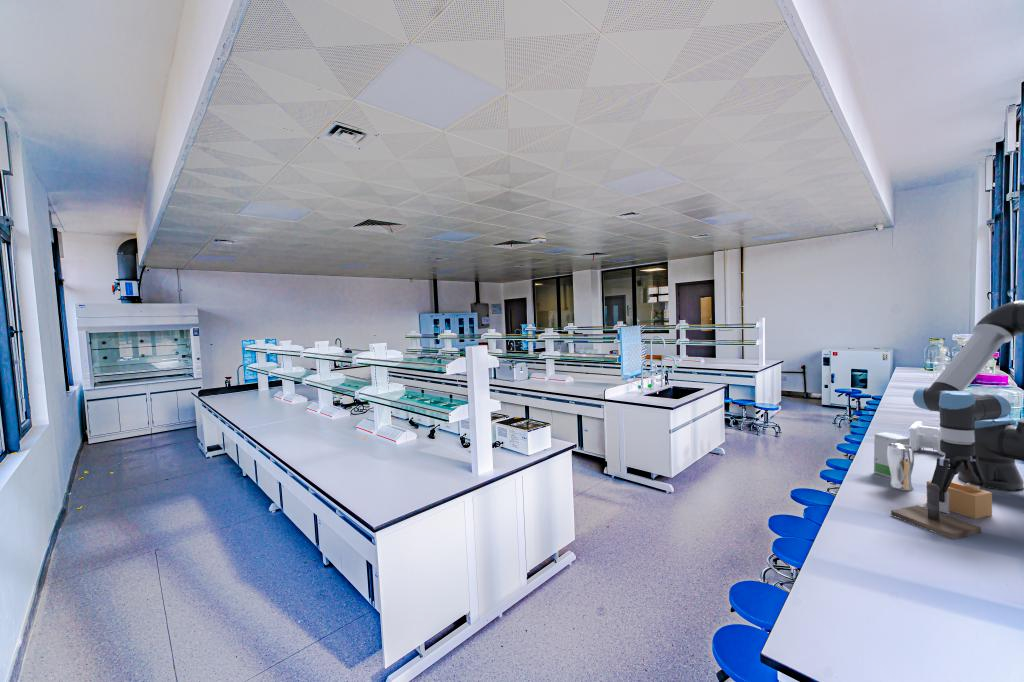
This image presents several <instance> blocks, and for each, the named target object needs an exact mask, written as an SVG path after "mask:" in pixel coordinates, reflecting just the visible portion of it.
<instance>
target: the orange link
mask: <svg viewBox="0 0 1024 682" xmlns="http://www.w3.org/2000/svg"><path fill="white" fill-rule="evenodd" d="M931 481H932V480H927V481H926V486H927V485H928V484H931ZM946 492H949V511H950V510H951V511H950V512H954V513H956V514H960V515H963V516H966V517H968V518H970V519H971V518H972V519H974V520H978V519H981V518H987V517H990V515H991V516H993V493H992V492H991V491H988V490H984V489H982V488H981V489H980V488H979V489H978V488H974V487H970V486H967V485H966V484H963V483H959V482H956V481H953V480H952V482H951V483H950V485H949V487H948V489H947V491H946ZM927 502H928V495H927V494H926V503H927ZM986 516H987V517H986Z"/></svg>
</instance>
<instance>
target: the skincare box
mask: <svg viewBox="0 0 1024 682" xmlns="http://www.w3.org/2000/svg"><path fill="white" fill-rule="evenodd" d="M873 442H874V445H873V446H874V452H873V453H874V454H873V455H874V456H873V473H875V474H878V475H882V476H884V477H887V478H890V479H891V473H890V469H889V465H888V460H887V448H888V444H891V443H897V444H905V445H909V446H910V437H908V436H904V435H900V434H897V433H896V434H895V433H891V432H888V431H884V432H879V433H878V432H877V433H874V441H873Z"/></svg>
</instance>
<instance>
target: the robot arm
mask: <svg viewBox="0 0 1024 682" xmlns="http://www.w3.org/2000/svg"><path fill="white" fill-rule="evenodd" d="M972 332H973V334H972V335H971V336H970V337H969V339H968V340H967V341H966V342H965V344H964V345H963V346H962V347H961V348H960V350H959V351H958V353H957V354H955V356H954V357H953V358H952V360H951V361H950V362H949V363H948V364H947V366H946V367H945V368H944V369H943V371H942V372H941V373H940V374H939V375H938V377H937V378H936V379H935V380H934V382H933V383H932V384H931V385H930V387H920V388H917V389H916V390H915V391H914V392H913V394H912V402H913V403H914V405H915V406H916V408H917V407H918V408H919V409H923V410H927V411H930V412H939V427H940V428H939V427H938V428H939V430H940V438H941V440H940V450H941V451H942V452H943V453H945V454H944V458H940V457H938V458H936V465H935V468H934V472H933V475H932V478H931V480H930V481H931V483H932V484H936V485H937V486H939V488H940V491H939V512H942V513H945V514H950V510H949V492H946V491H947V489H948V487H949V485H950V483H951V482H952V481H953V479H954V478H955V476H956V475H958V478H959V480H962V481H964V482H965V481H966V484H965V485H967V486H970V487H974V488H978V489H980V487H983V486H984V488H988V487H990V488H989V489H994V488H997V489H996V490H1002V489H1006V490H1005V491H1016V490H1015V489H1019V490H1022V489H1023V488H1024V480H1023V478H1022V475H1021V473H1020V471H1019V469H1018V467H1017V465H1016V461H1019V462H1024V417H1023V418H1021V419H1018V420H1017V424H1016V421H1015V419H1014V418H1011V417H1007V416H1010V413H1011V411H1012V406H1011V403H1010V401H1008V400H1007V399H1006V398H1005V397H1003V396H1001V395H999V394H983V395H982V394H974V393H972V392H969V391H965V390H966V389H967V388H968V387H969V386H970V384H971V383H972V382H973V381H974V380H975V378H976V377H977V376H978V375H979V373H980V372H981V371H982V370H983V368H984V367H986V365H987V364H988V363H989V361H990V360H991V359H992V358H993V356H994V355H995V354H996V353H997V352H998V350H999V349H1000V348H1001V347H1002V345H1004V344H1006V343H1009V342H1010V341H1012V340H1013V339H1014V337H1015V336H1019V335H1024V299H1019V300H1014V301H1011V302H1008V303H1005V304H1002V305H1000V306H999V307H996V308H995V309H994V310H991V311H990V312H988V313H987V314H986V315H985V316H983V317H982V318H981V319H980V320H979V321H978V322H977V323H976V324H975V326H974V327H973V328H972Z"/></svg>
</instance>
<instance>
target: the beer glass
mask: <svg viewBox="0 0 1024 682" xmlns="http://www.w3.org/2000/svg"><path fill="white" fill-rule="evenodd" d="M887 460H888V465H889V469H890V473H891V478H890V482H889V487H890V488H892V489H895V490H898V491H904V492H905V491H906V492H909V491H910V492H911V491H913V490H914V487H913V484H912V476H913V471H914V465H915V456H914V450H913V447H912V446H909V445H905V444H897V443H891V444H888V448H887Z"/></svg>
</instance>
